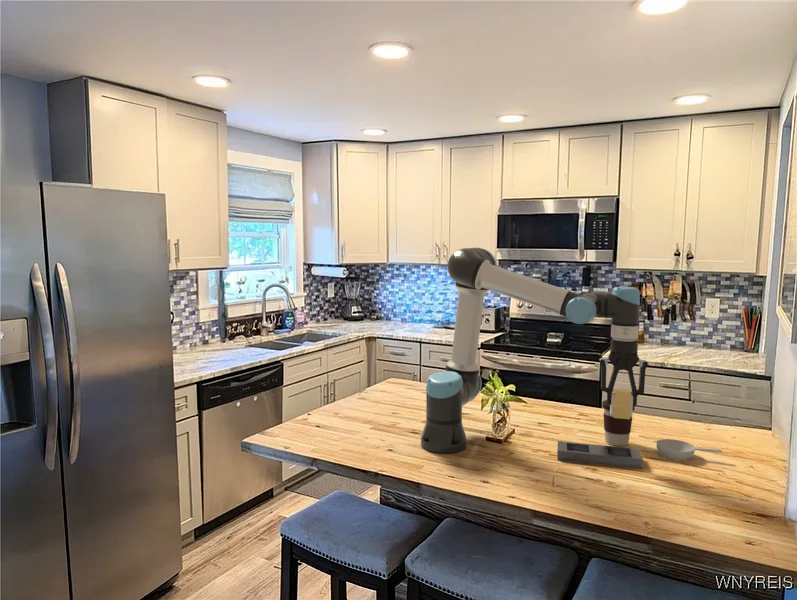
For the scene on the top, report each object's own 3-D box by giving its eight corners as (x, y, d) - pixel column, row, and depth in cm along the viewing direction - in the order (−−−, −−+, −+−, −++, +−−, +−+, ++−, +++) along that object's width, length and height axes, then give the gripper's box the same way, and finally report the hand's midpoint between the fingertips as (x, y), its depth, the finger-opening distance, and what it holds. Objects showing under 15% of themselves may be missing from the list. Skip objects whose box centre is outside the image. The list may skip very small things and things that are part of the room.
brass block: (612, 413, 169) (613, 388, 168) (628, 414, 168) (629, 389, 167) (613, 417, 164) (614, 391, 164) (630, 419, 163) (631, 392, 162)
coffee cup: (635, 449, 177) (637, 404, 176) (603, 447, 179) (605, 402, 178) (629, 438, 187) (631, 395, 185) (598, 436, 189) (600, 393, 187)
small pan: (654, 447, 179) (655, 436, 179) (717, 455, 173) (718, 443, 172) (657, 459, 169) (657, 447, 169) (724, 468, 163) (724, 456, 162)
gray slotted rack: (557, 460, 169) (557, 450, 168) (557, 450, 177) (557, 441, 176) (642, 469, 162) (642, 459, 162) (638, 458, 170) (638, 448, 170)
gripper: (593, 339, 162) (591, 416, 165) (658, 342, 158) (654, 421, 160) (592, 335, 170) (589, 409, 172) (654, 338, 165) (650, 413, 167)
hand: (621, 415), depth 166 cm, fingers closed on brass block, 4 cm apart
